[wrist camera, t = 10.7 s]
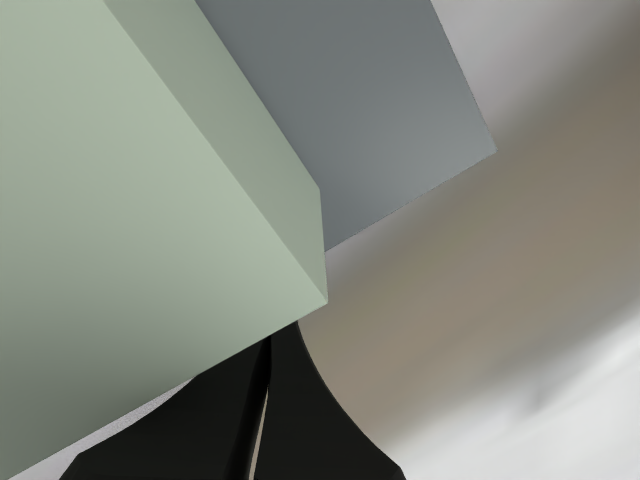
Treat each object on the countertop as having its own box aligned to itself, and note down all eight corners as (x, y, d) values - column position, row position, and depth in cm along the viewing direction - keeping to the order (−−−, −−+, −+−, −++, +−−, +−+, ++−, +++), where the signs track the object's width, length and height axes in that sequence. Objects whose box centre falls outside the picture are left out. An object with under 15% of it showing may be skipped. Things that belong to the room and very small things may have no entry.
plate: (481, 143, 12) (499, 151, 11) (161, 332, 15) (148, 355, 14) (83, -718, 7) (32, -892, 5) (-328, -160, 9) (-423, -193, 8)
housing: (319, 189, 11) (327, 302, 6) (126, 309, 13) (-6, 487, 7) (119, -114, 9) (-207, -414, 3) (-99, 86, 10) (-572, 111, 5)
